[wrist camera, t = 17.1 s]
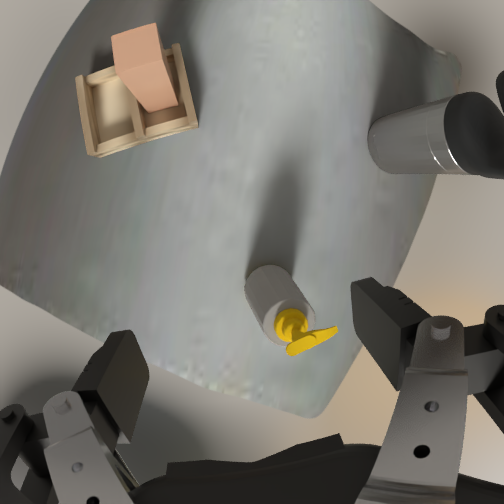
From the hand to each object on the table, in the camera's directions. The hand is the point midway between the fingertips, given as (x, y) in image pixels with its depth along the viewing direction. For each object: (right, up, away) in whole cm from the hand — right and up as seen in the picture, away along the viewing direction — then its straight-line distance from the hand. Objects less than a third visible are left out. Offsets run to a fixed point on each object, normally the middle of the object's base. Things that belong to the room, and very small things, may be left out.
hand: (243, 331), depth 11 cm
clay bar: (-11, +23, +25) cm, 36 cm away
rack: (-15, +23, +26) cm, 38 cm away
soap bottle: (+2, -2, +34) cm, 34 cm away
